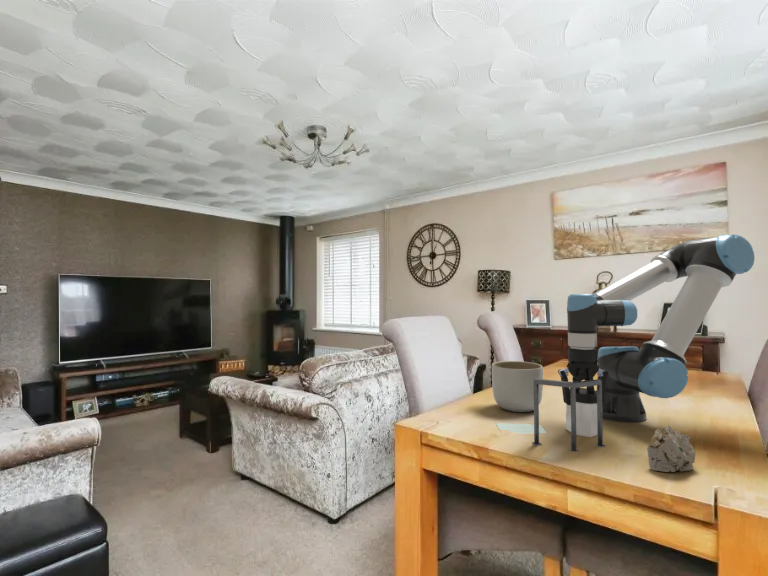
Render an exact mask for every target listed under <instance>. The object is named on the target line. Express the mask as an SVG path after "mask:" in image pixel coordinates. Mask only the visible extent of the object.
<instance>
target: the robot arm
mask: <svg viewBox="0 0 768 576" xmlns="http://www.w3.org/2000/svg"><path fill="white" fill-rule="evenodd" d="M754 263H755V252H754V249H753V246H752V244H751V243H750V242H749V241H748V240H747V239H746V238H745V237H743V236H741V235H739V234H721V235H719V236H712V237H706V238H705V237H704V238H697V239H689V240H686V241H683V242H681V243H678V244H676V245H674V246H671V247H670V248H669V249H666V250H665V251H663V252H661V253H660V254H658V255H656V256H654V257H652V258H651V260H650V262H649V263H648V264H646V265H644V266H641V267H640V268H639V269H636V270H634V271H632V272H631V273H629V274H627V275H625V276H623V277H622V278H620V279H618V280H617V281H614V282H612V283H610V284H609V285H606V286H605V287H603V288H601V289H600V290H597V291H595V292H594V293H572V294H569V295H568V297H567V302H566V304H567V305H566V313H567V315H566V316H567V345H568V349H567V358H568V363H567V364H566V367H565V368H563V369H561V368H560V369H558V371H557V373H558V375H559V377H560V381H565V382H569V378H568V376H569V374H570V375H571V376H572V379H571V380H572V381H571V382H578V381H587V380H594V377H595V376H596V374H597V379H598V380H601V381H602V420H608V421H613V422H619V423H642V422H645V421H646V420H647V412H646V409H645V406H644V404H643V401H642V399H641V396H640V393H641V394H644V395H646V396H649V397H653V398H658V399H671V398H674V397H676V396H678V395H679V394H681V393H682V392H683V390H684V389H685V388H686V386H687V384H688V381H689V376H687V375H688V374H689V371H688V369H687V367H686V364H687V362H688V361H687V360H686V357H685V353H686V351H687V349H688V348H689V346H690V344H691V343H692V341H693V339H694V337H695V336H696V334H697V332H698V330H699V329H700V326H701V325H702V323H703V321H704V319H705V317H706V316H707V314H708V312H709V310H710V308H711V307H712V305H713V303H714V301H715V300H716V298H717V296H718V294H719V292H720V291H721V289H722V288H725V287H729V286H730V285H731V284H732V282H733V280H734V279H735V277H736V275H742V274H744V273H747V272H749V271H750V270H751V269H753V266H754ZM686 277H687V278H686ZM681 278H686V279H685V281H684V283H683V285H682V287H680V290H679V291H678V293H677V295H676V297H675V298H674V300H673V302H672V303H671V306H670V308H669V309H668V311H667V312H666V314H665V316H664V318H663V320H662V322H661V323H660V325H659V327H658V328H657V330H656V332H655V334H654V336H653V337H652V339H651V340H649V341H644V342H643V343H642V344H641V346H640V348H639V347H638V346H634V345H633V346H630V345H629V346H626V345H625V346H602V347H600V348H599V349H598V350H597V349H596V348H597V347H598V335H597V334H598V327H625V326H631V325H633V324H635V323H636V321H637V319H638V308H637V306H636V304H635V303H634V302H632V300H634V299H636V298H638V297H639V296H642V295H643V294H645V293H647V292H648V291H650V290H652V289H654V288H656V287H658V286H660V285H662V284H663V283H665V282H666V283H671V282H674V281H675V280H677V279H681ZM580 388H581V387H580ZM580 388H576V391H577V392H579V390H580ZM586 388H587V390H588V391H589V392H595V391H596V390H595V386H588V387H586ZM561 390H562V397H563V403H565V404H567V405H570V404H571V399H570V391H569V388H568V387H561Z"/></svg>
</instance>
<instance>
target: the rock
mask: <svg viewBox="0 0 768 576" xmlns="http://www.w3.org/2000/svg"><path fill="white" fill-rule="evenodd" d="M690 441H691V437H690V435H687V434H685V433H682V432H680V431H679V430H674V429H673V428H672V427H671V426H670V425H668V426H665V427H664V426H662V427H658V428H657V429H655V432H654V434H653V435H652V437H651V439H650V442H649V444H648V446H647V448H646V449H647V457H648V465H649V468H650V470H652V471H659V472H663V473H664V472H665V473H669V472H670V473H671V472H672V473H673V472H674V473H676V472H677V471H678V472H688V471H689V472H690V471H692V470H693V468H694V463H696V461H695V460H696V455H697V454H696V451H695V449H694V446H693V445H692V444H691V443H690Z"/></svg>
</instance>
